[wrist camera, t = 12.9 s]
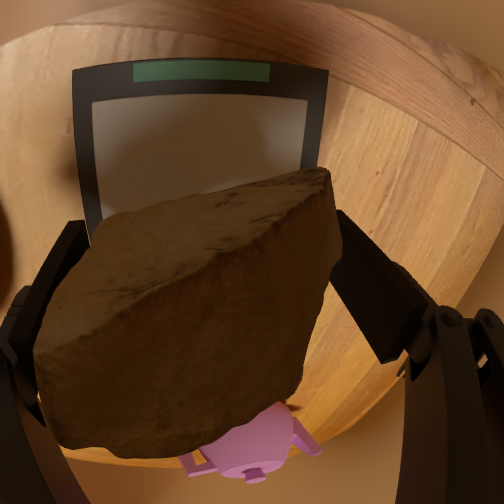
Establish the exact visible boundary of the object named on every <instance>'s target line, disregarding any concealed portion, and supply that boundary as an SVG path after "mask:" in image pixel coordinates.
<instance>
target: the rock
mask: <svg viewBox="0 0 504 504" xmlns="http://www.w3.org/2000/svg"><path fill="white" fill-rule="evenodd" d="M342 246H343V241H342V237H341V232H340V228H339V223H338V219H337V214H336V206H335V200H334V193H333V187H332V182H331V174H330V172H329V170H327V169H326V168H322V167H312V168H306V169H302V170H298V171H293V172H289V173H286V174H281V175H278V176H275V177H273V178H268V179H265V180H260V181H254V182H251V183H246V184H242V185H238V186H235V187H232V188H229V189H225V190H221V191H216V192H212V193H207V194H200V193H197V194H191V195H188V196H184V197H182V198H178V199H176V200H168V201H161V202H158V203H157V204H154V205H151V206H149V207H144V208H142V209H140V210H138V211H135V212H131V211H128V212H121V213H117V214H114V215H112V216H110V217H108V218H106V219H104V220H102V221H101V222H100V223H99V225H98V226H97V227H96V229H95V230H94V232H93V235H92V238H91V245H90V248H89V249H88V250H86V251H85V253H84V255H83V256H82V258H81V259H80V260H79V261H78V263H77V264H76V265H75V266H74V267H72V268H71V270H70V271H69V273H68V274H67V276H66V277H65V278H64V279H63V280H62V282H61V283H60V285H59V286H58V287H57V288H56V290H55V291H54V293H53V295H52V298H51V300H50V302H49V304H48V305H47V308H46V312H45V315H44V317H43V320H42V326H41V328H40V329H39V332H38V335H37V338H36V341H35V344H34V347H33V356H34V366H35V375H36V381H37V386H38V391H39V395H40V400H41V404H42V408H43V411H44V413H45V416H46V419H47V422H48V425H49V427H50V430H51V432H52V434H53V436H54V438H55V439H56V441H57V442H58V443H59V445H60V446H62V447H64V448H67V449H71V450H76V449H82V448H88V447H104V448H106V449H108V450H109V451H110V452H111V453H113V454H114V455H115V456H116V457H118V458H123V459H130V458H140V459H149V458H169V457H177V456H182V455H185V454H187V453H190V452H192V451H194V450H196V449H198V448H200V447H202V446H205V445H209V444H211V443H213V442H215V441H217V440H218V439H220V438H221V437H222V436H224V435H225V434H226V433H227V432H229V431H230V430H231V429H232V428H234V427H238V426H242V425H245V424H247V423H249V422H250V421H252V420H253V419H254V418H255V417H256V416H257V415H258V414H259V413H260V412H262V411H264V410H266V409H267V408H269V407H270V406H272V405H273V404H275V403H276V402H278V401H279V400H286V399H288V398H289V397H290V396H291V395H292V394H294V393H295V391H296V389H297V388H298V386H299V384H300V382H301V380H302V376H303V364H304V360H305V356H306V352H307V348H308V344H309V341H310V338H311V334H312V331H313V329H314V326H315V323H316V319H317V317H318V315H319V314H320V311H321V308H322V305H323V300H324V292H325V290H326V288H327V286H328V283H329V278H330V274H331V271H332V268H333V266H334V265H335V264H336V262H339V261H340V259H341V256H342Z"/></svg>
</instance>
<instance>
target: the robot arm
mask: <svg viewBox="0 0 504 504" xmlns="http://www.w3.org/2000/svg"><path fill="white" fill-rule="evenodd" d="M336 214H337V219H338V223H339V228H340V232H341V237H342V241H343V246H342V256H341V259H340V261H339V262H336V264H335V265H334V266H333V268H332V271H331V274H330V278H329V281H330V282H331V284H332V286H333V287H334V289H335V290H336V292H337V293H338V295H339V296H340V298H341V300H342V301H343V303H344V304H345V306H346V307H347V309H348V311H349V312H350V314H351V315H352V317H353V319H354V320H355V322H356V323H357V325H358V327H359V328H360V330H361V331H362V333H363V335H364V336H365V338H366V340H367V341H368V343H369V345H370V346H371V348H372V349H373V351H374V353H375V354H376V356H377V358H378V359H379V361H380V363H381V365H382V364H385V363H388V362H391V361H395V360H398V358H399V357H400V355H401V353H402V352H403V350H404V348H405V350H406V351H407V353H408V354H409V355H408V357H407V358H406V360H405V361H404V363H403V364H402V366H401V367H400V369H399V370H398V372H397V376H398V377H399V376H400V375H401V373H402V372H403V370H404V369H405V374H404V375H403V378H405V411H404V412H405V413H404V431H403V445H402V456H401V465H400V474H399V482H398V488H397V495H396V501H395V504H504V324H503V323H502V321H501V319H500V318H499V317H498V315H496V314H495V313H494V312H493V311H491V310H489V309H485V308H482V309H480V310H479V311H478V312H477V314H476V315H475V317H474V319H471V318H463V316H462V315H461V314H460V313H459V312H458V311H456V310H455V309H454V308H451V307H449V306H443V305H441V306H438V305H437V304H436V303H435V301H434V300H433V299H432V298H431V297H430V296H429V295H428V293H427V292H426V291H425V290H424V289H423V288H422V287H421V286H420V284H418V282H417V281H416V280H415V279H414V278H412V276H411V275H410V273H409V272H408V271H407V270H406V269H405V268H404V267H402V266H401V265H399V264H397V263H396V262H394V261H391V260H390V259H389V258H388V257H387V256H386V255H385V254H384V253H383V251H382V250H381V249H380V248H379V247H378V246H377V245H376V244H375V243H374V242H373V241H372V240H371V239H370V238H369V237H368V236H367V235H366V234H365V233H364V232H363V231H362V230H361V229H360V228H359V227H358V226H357V225H356V224H355V223H354V222H353V221H352V220H351V219H350V218H349V217H348V216H347V215H346V214H345V213H344V212H343V211H342V210H336ZM89 248H90V244H89V239H88V234H87V230H86V225H85V220H75V221H69V222H68V223H67V225H66V226H65V228H64V229H63V231H62V233H61V234H60V236H59V238H58V239H57V241H56V242H55V244H54V246H53V248H52V249H51V251H50V253H49V254H48V256H47V258H46V260H45V261H44V263H43V265H42V267H41V269H40V271H39V272H38V274H37V276H36V278H35V280H34V282H33V284H32V285H30V286H24V287H23V288H22V289H21V290H20V291H19V292H18V293H17V294H16V296H15V298H14V300H13V302H12V304H11V307H10V308H9V310H8V312H7V316H5V318H4V320H3V323H2V325H1V327H0V504H91V503H90V502H89V500H88V499H87V497H86V495H85V493H84V492H83V490H82V489H81V487H80V485H79V483H78V481H77V480H76V478H75V476H74V474H73V473H72V471H71V469H70V467H69V465H68V463H67V461H66V459H65V457H64V455H63V453H62V451H61V448H60V446H59V444H58V442H57V441H56V439H55V438H54V436H53V434H52V432H51V430H50V427H49V425H48V422H47V419H46V416H45V413H44V411H43V408H42V404H41V402H40V400H39V399H38V397H37V395H38V386H37V381H36V375H35V366H34V356H33V347H34V344H35V341H36V338H37V335H38V332H39V329H40V328H41V326H42V320H43V317H44V315H45V312H46V308H47V305H48V304H49V302H50V300H51V298H52V295H53V293H54V291H55V290H56V288H57V287H58V286H59V285H60V283H61V282H62V280H63V279H64V278H65V277H66V276H67V274H68V273H69V271H70V270H71V268H72V267H74V266H75V265H76V264H77V263H78V261H79V260H80V259H81V258H82V256H83V255H84V253H85V251H86V250H88V249H89ZM485 354H486V357H487V359H488V360H487V362H486V363H485V364H484V365H483V367H482V368H480V367H479V366H478V362H479V361H480V360H481V358H482V357H483V356H484V355H485Z"/></svg>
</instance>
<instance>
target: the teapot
mask: <svg viewBox="0 0 504 504" xmlns="http://www.w3.org/2000/svg"><path fill="white" fill-rule="evenodd" d="M291 443H292V444H294V445H295V446H296V447H298V448H299V449H301V450H302V451H304V452H305V453H307V454H309V455H310V457H311V456H315V455H318V454H320V453H322V452H323V450H322V449H321V448H320V446H319V445H318V444H317V443H316V441H315V440H314V439H313V438H312V437H311V435H310V434H309V433H308V432H307V430H306V429H305V428H304V427H303V425H302V424H301V423H300V422H299V420H298V419H297V418H296V417H292V414H291V411H290V409H289V408H288V407H287V406H286V405H284V404H283V403H281V402H279V401H278V402H276V403H275V404H273V405H272V406H270V407H269V408H267V409H266V410H264V411H262V412H260V413H259V414H258V415H257V416H256V417H255V418H254V419H253V420H252V421H250V422H249V423H247V424H245V425H242V426H238V427H234V428H232V429H231V430H230V431H229V432H227V433H226V434H225V435H224V436H222V437H221V438H220V439H218V440H217V441H215V442H213V443H211V444H209V445H205V446H202V447H200V448H198V449H199V451H200V452H201V454H202V456H203V457H204V458H205V459H206V460H207V462H206V463H203V464H200V465H197V466H196V464H195V461H194V459H193V457H192V454H191V452H190V453H187V454H185V455H182V456H177V457H178V459H179V461H180V462H181V464H182V466H183V468H184V470H185V471H186V474H187V475H188V477H192V476H197V475H202V474H206V473H211V472H215V471H217V472H219V473H220V474H221V475H222V476H225V477H229V478H245V483H257V482H261V481H264V480H265V479H267V478H266V476H265V475H264V474H265V473H268V472H271V471H273V470H276V469H278V468H279V467H281V466H282V465H283V464H284V462H285V460H286V458H287V455H288V452H289V449H290V446H291Z"/></svg>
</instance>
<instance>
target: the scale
mask: <svg viewBox="0 0 504 504" xmlns="http://www.w3.org/2000/svg"><path fill="white" fill-rule="evenodd" d="M328 74H329V70H325V69H320V68H314V67H308V66H302V65H295V64H288V63H280V62H271V61H262V60H250V59H234V58H163V59H148V60H136V61H126V62H118V63H110V64H103V65H97V66H91V67H85V68H80V69H75V70H73V71H72V99H73V123H74V137H75V148H76V158H77V167H78V175H79V182H80V189H81V196H82V202H83V208H84V213H85V219H86V224H87V229H88V234H89V238H90V243H91V238H92V235H93V232H94V230H95V229H96V227H97V226H98V225H99V223H100V222H101V221H102V220H104V219H106V218H108V217H110V216H112V215H114V214H117V213H121V212H128V211H131V212H135V211H138V210H140V209H142V208H144V207H149V206H151V205H154V204H157V203H158V202H161V201H168V200H176V199H178V198H182V197H184V196H188V195H191V194H197V193H200V194H207V193H212V192H216V191H221V190H225V189H229V188H232V187H235V186H238V185H242V184H246V183H251V182H254V181H260V180H265V179H268V178H273V177H275V176H278V175H281V174H286V173H289V172H293V171H298V170H302V169H306V168H312V167H317V161H318V154H319V147H320V140H321V132H322V125H323V117H324V109H325V101H326V92H327V83H328Z"/></svg>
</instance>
